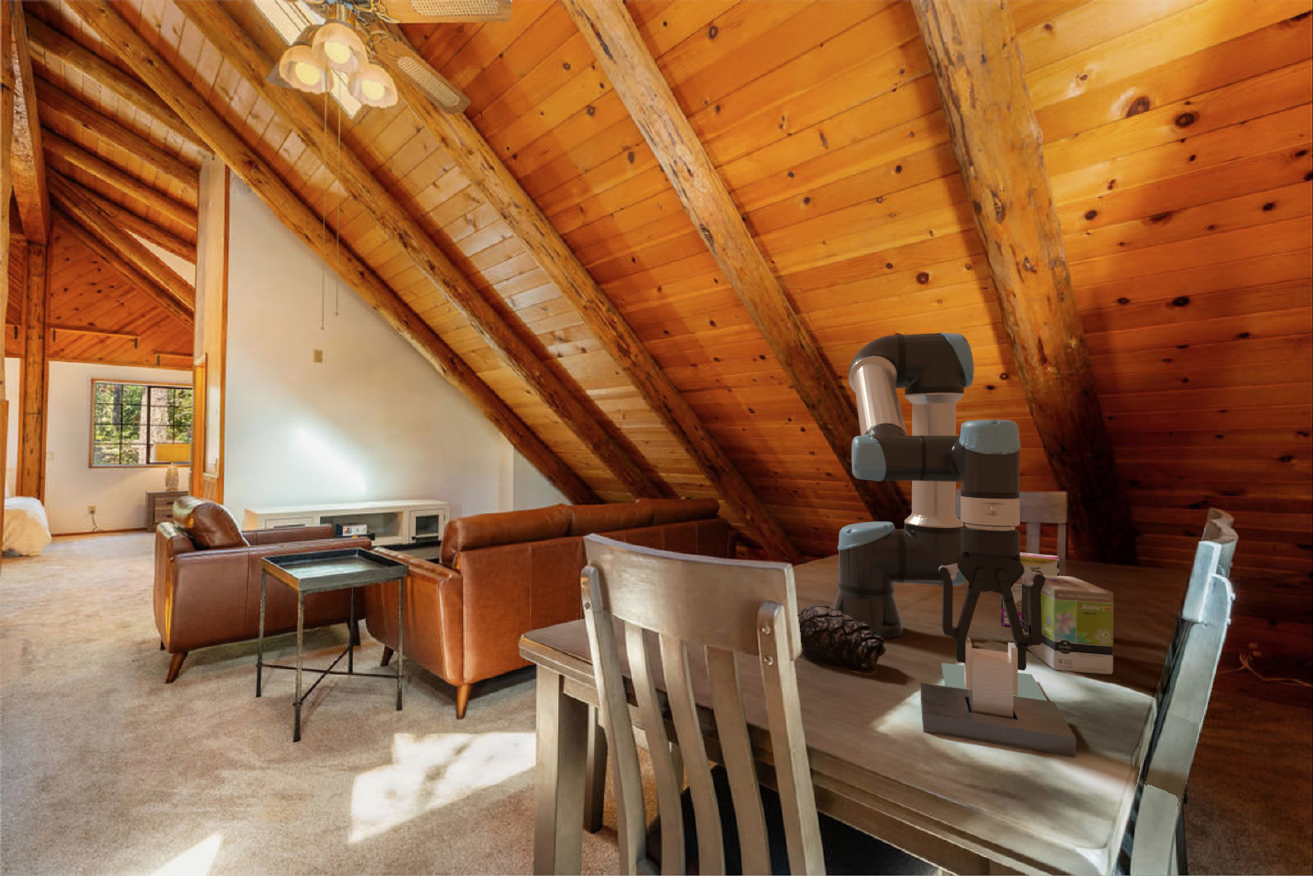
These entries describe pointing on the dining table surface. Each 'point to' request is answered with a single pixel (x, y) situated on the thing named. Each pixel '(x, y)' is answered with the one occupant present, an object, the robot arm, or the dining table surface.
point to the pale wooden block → (991, 683)
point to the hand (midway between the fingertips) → (990, 688)
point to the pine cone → (838, 640)
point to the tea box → (1073, 625)
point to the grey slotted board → (997, 721)
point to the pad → (1025, 689)
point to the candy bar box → (1035, 564)
